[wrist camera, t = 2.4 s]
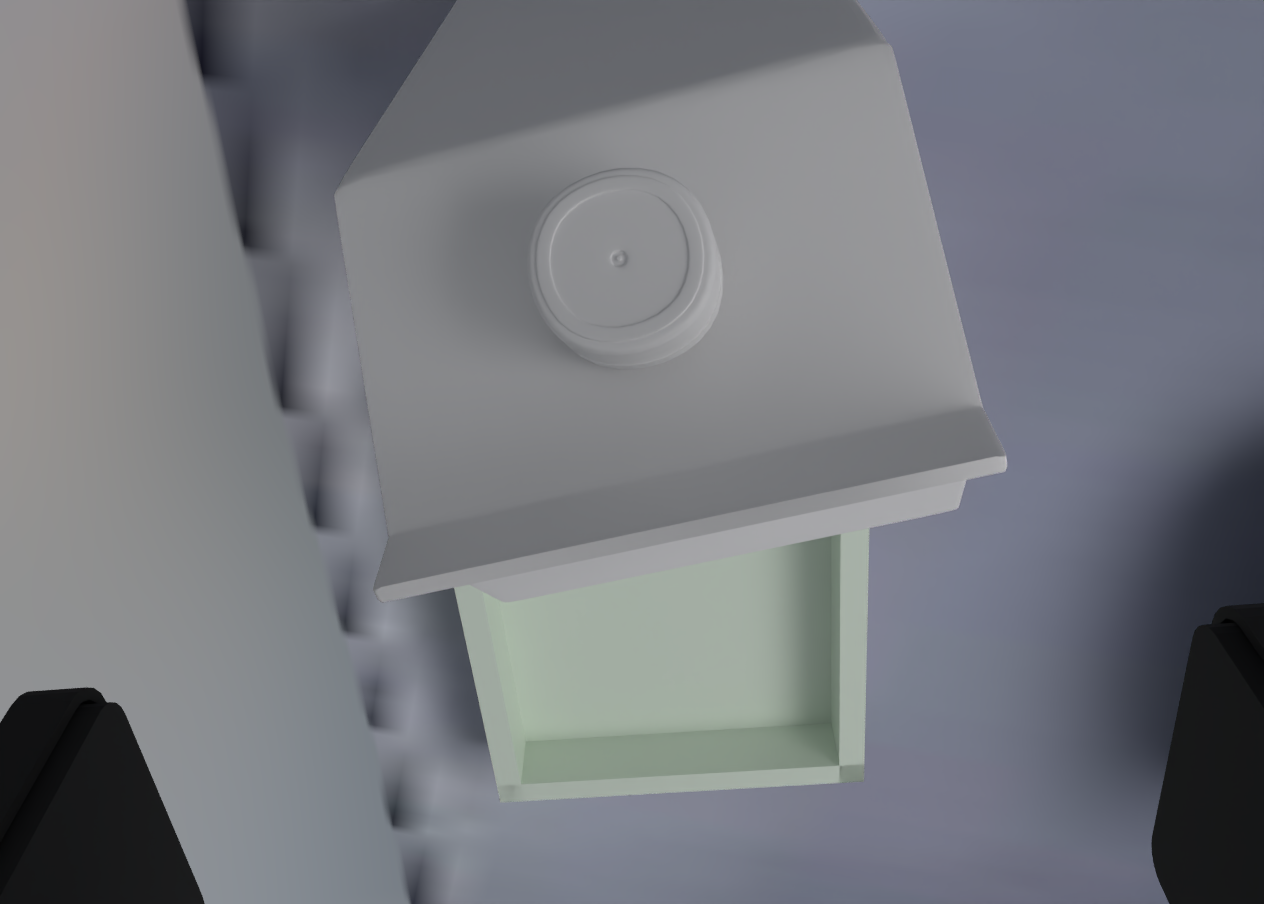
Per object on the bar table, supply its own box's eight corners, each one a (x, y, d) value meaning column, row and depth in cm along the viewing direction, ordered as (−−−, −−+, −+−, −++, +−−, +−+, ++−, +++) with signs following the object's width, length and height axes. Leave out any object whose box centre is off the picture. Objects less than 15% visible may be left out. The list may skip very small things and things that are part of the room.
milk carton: (824, 177, 30) (1036, 703, 14) (559, 244, 31) (475, 805, 15) (770, -117, 27) (972, 138, 10) (472, -32, 28) (239, 322, 11)
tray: (430, 368, 33) (416, 413, 31) (857, 336, 33) (872, 379, 30) (507, 746, 41) (500, 802, 39) (851, 725, 40) (864, 781, 38)
